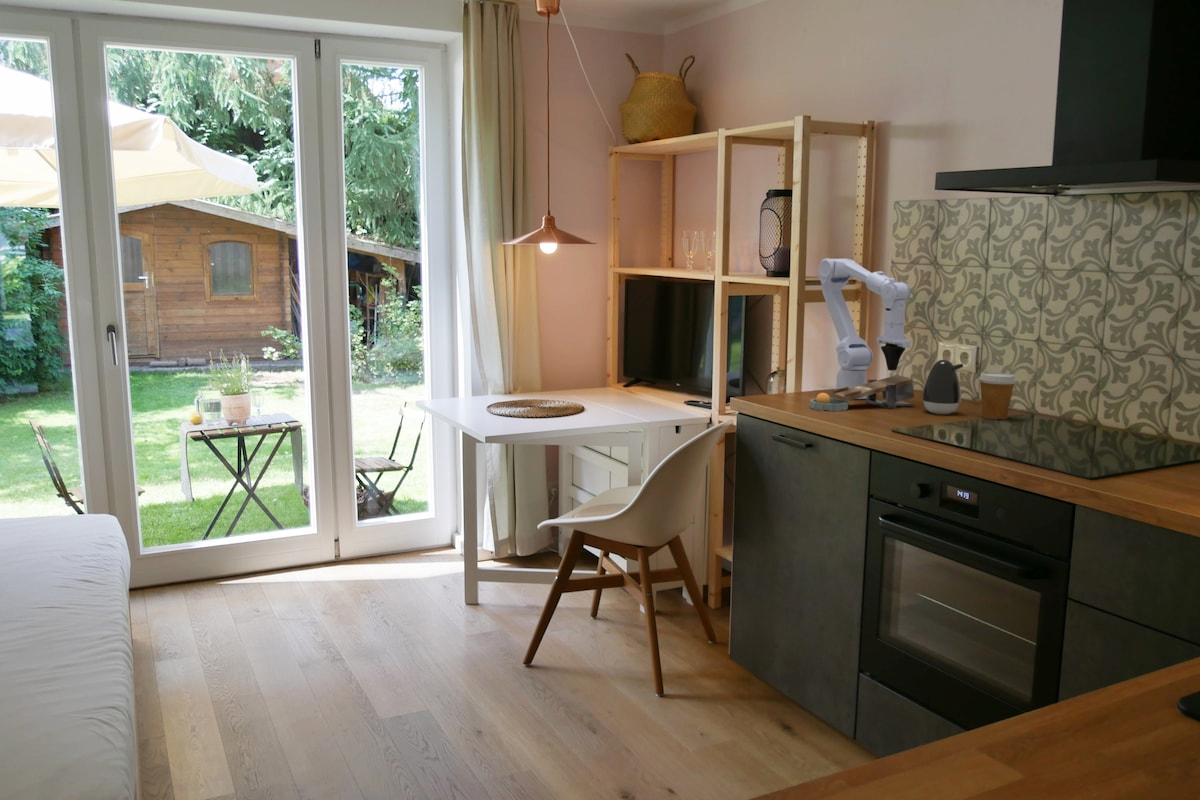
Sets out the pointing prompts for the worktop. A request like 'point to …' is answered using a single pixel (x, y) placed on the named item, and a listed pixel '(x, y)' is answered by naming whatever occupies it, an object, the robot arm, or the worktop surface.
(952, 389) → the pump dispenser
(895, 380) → the lever
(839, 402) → the dish
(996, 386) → the disposable coffee cup
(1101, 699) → the worktop surface
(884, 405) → the lever stand
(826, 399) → the ball
